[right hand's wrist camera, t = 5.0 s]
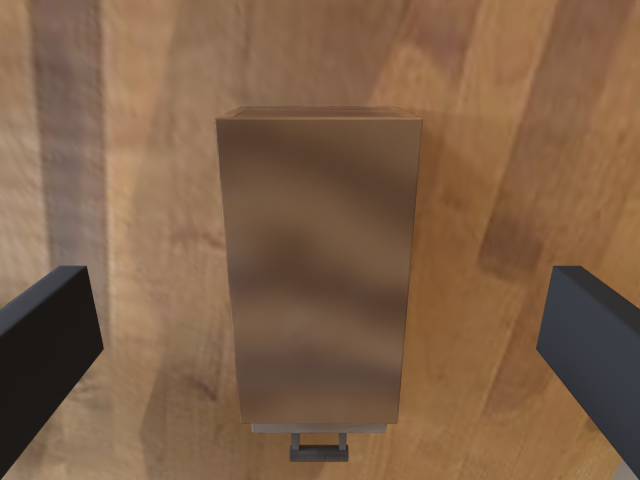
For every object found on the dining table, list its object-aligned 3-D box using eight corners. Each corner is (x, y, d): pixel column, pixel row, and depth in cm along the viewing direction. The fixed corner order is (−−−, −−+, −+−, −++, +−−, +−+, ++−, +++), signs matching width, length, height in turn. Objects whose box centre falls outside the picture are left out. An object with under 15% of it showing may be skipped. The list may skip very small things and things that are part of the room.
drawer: (373, 430, 41) (382, 490, 35) (265, 430, 41) (256, 490, 35) (389, 150, 31) (404, 168, 26) (248, 150, 31) (232, 169, 26)
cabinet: (382, 355, 39) (397, 424, 31) (255, 355, 39) (240, 424, 31) (397, 106, 31) (422, 118, 24) (239, 106, 31) (214, 118, 24)
